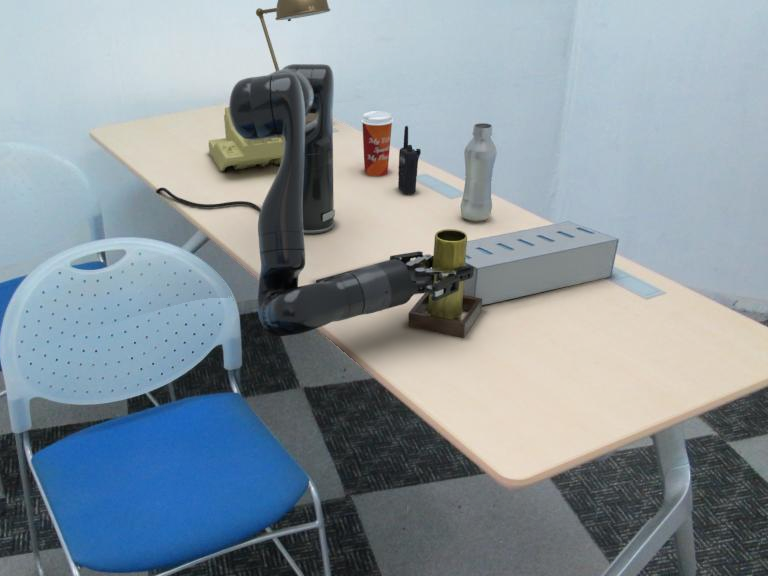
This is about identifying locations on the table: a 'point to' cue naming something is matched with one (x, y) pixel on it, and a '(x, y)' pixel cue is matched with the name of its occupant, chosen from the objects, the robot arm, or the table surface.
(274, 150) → the control panel
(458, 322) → the holder
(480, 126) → the plastic bottle
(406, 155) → the two-way radio
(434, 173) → the table surface
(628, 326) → the table surface
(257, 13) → the lamp
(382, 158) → the paper cup
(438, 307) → the vase
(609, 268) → the warehouse
